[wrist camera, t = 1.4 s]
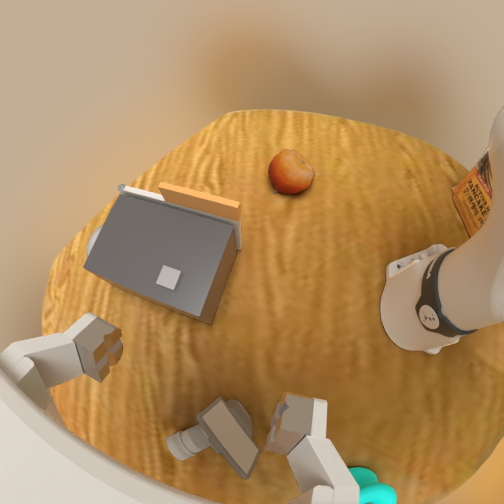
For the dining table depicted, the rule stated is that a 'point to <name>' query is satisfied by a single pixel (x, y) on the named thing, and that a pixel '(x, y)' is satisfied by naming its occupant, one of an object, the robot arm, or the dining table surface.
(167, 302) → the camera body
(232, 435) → the camera
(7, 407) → the robot arm
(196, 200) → the side door
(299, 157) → the fruit
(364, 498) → the turquoise spool
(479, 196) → the pancake mix bag
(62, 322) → the dining table surface
